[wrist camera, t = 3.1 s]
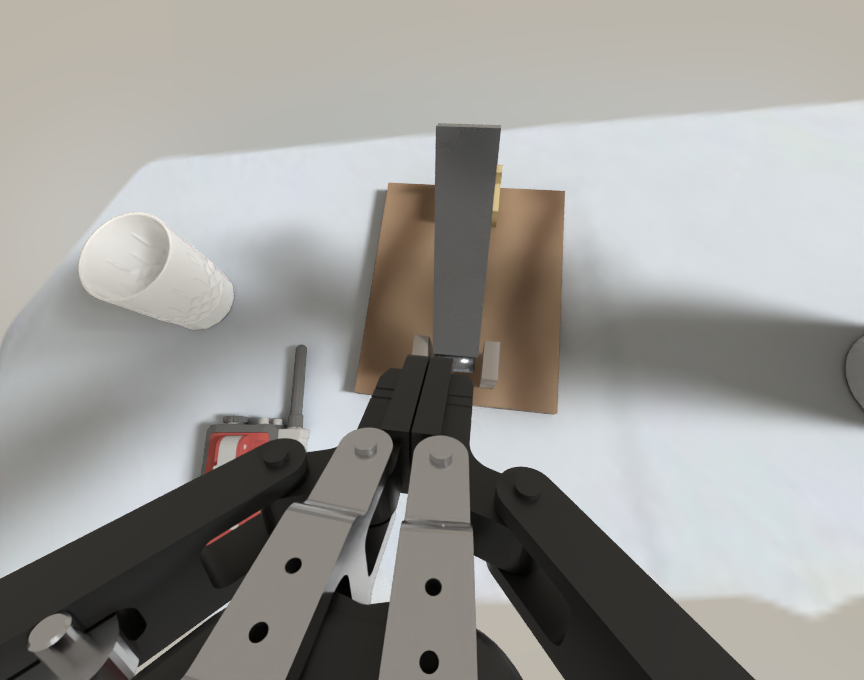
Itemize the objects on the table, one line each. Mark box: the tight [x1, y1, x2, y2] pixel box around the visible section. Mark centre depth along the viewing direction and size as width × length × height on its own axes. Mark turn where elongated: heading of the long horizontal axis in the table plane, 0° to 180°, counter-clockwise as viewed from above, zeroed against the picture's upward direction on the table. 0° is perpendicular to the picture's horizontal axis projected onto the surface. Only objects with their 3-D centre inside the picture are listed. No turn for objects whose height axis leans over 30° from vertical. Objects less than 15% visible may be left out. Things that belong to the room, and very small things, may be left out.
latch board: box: [354, 165, 565, 414], centre depth 36 cm, size 18×22×6 cm
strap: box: [433, 123, 501, 374], centre depth 28 cm, size 4×18×2 cm
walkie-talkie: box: [201, 345, 310, 545], centre depth 35 cm, size 9×4×20 cm
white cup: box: [78, 212, 234, 330], centre depth 36 cm, size 8×8×10 cm
